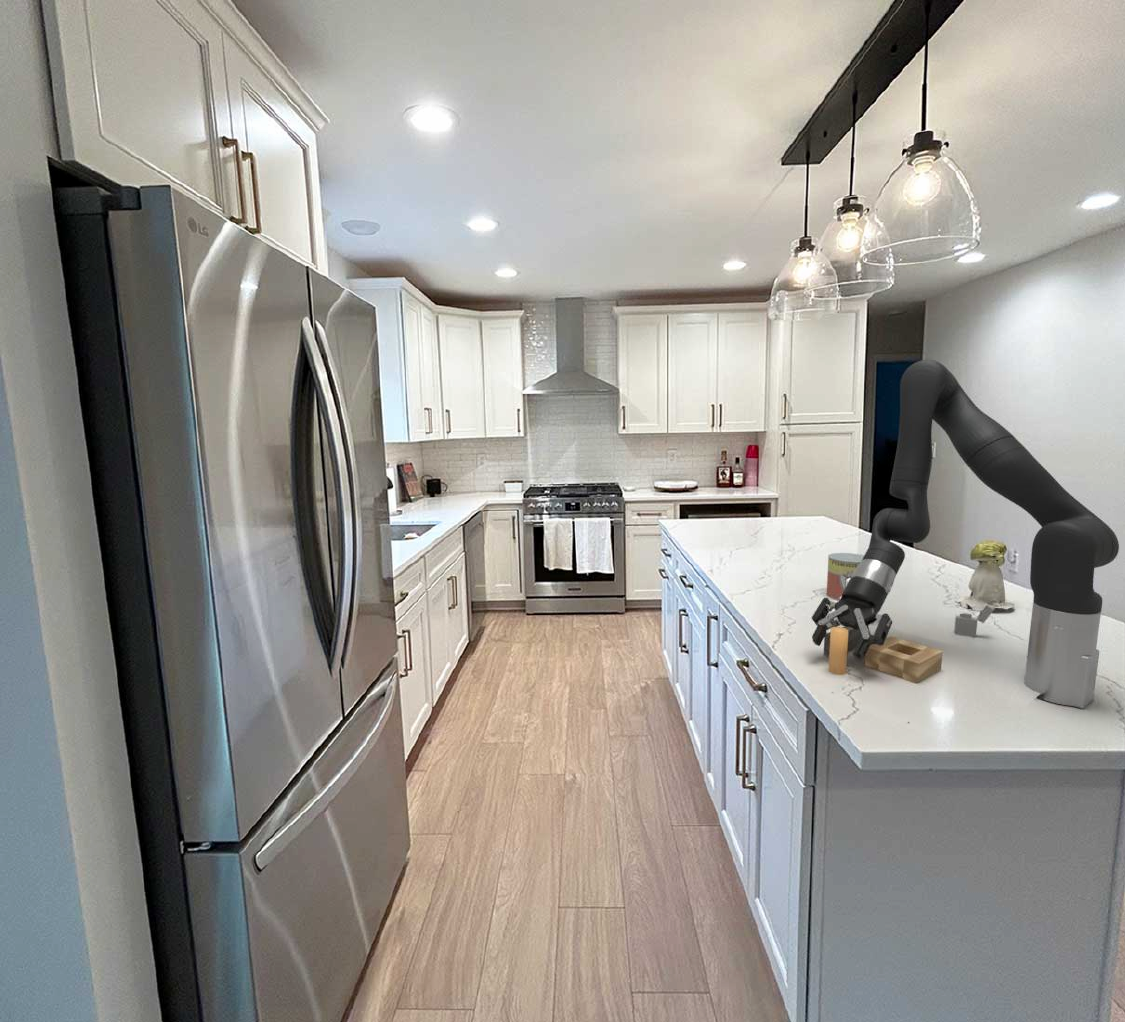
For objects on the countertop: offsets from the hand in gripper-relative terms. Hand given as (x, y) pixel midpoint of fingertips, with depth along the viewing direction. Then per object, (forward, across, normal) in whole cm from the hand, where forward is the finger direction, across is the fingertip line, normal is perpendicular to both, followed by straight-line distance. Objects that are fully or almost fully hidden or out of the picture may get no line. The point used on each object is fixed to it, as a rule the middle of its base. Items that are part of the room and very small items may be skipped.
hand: (835, 650), depth 112 cm
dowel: (+4, 0, +4) cm, 6 cm away
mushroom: (-48, 0, +56) cm, 74 cm away
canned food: (-33, -27, +42) cm, 59 cm away
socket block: (-6, +7, +12) cm, 15 cm away
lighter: (-29, +7, +37) cm, 48 cm away
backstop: (-5, +3, +13) cm, 14 cm away
